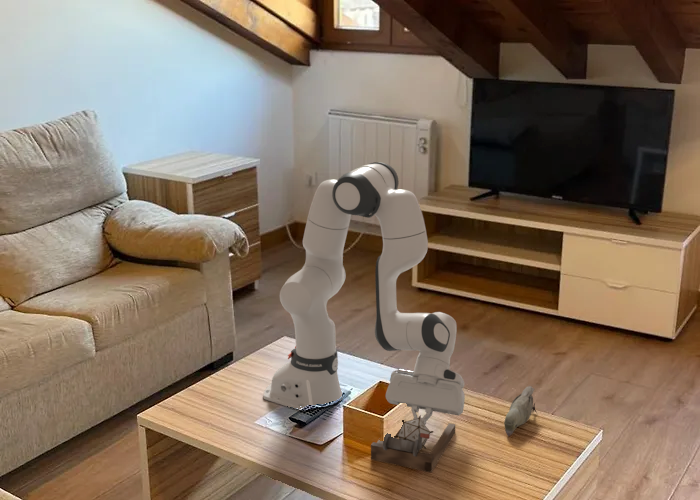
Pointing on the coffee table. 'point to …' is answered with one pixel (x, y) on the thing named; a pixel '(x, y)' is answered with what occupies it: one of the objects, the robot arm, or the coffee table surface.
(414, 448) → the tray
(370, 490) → the coffee table surface
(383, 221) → the robot arm
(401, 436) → the game die
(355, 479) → the coffee table surface
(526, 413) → the decorative bird
